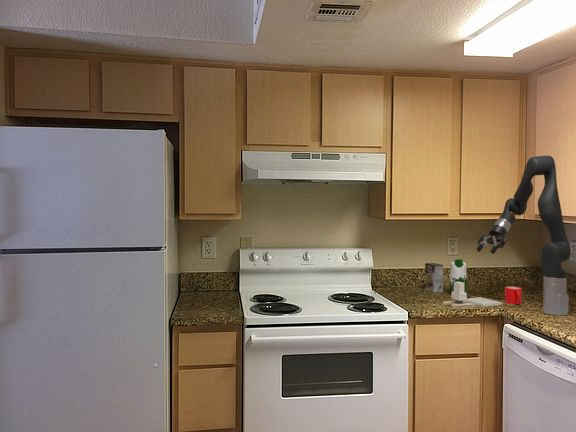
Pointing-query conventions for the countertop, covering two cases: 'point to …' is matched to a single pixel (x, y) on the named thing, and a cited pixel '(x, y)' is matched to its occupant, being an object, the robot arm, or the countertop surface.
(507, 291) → the mug
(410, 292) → the countertop surface
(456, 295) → the white stepped block
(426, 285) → the coffee box
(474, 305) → the post stand
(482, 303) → the tile
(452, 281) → the milk carton
